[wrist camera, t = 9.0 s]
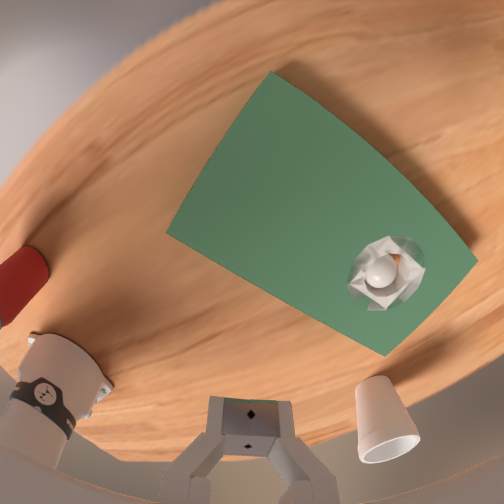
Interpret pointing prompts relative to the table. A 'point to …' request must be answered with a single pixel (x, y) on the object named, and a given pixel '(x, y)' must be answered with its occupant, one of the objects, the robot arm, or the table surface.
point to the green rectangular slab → (320, 220)
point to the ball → (381, 272)
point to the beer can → (20, 282)
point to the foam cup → (382, 421)
